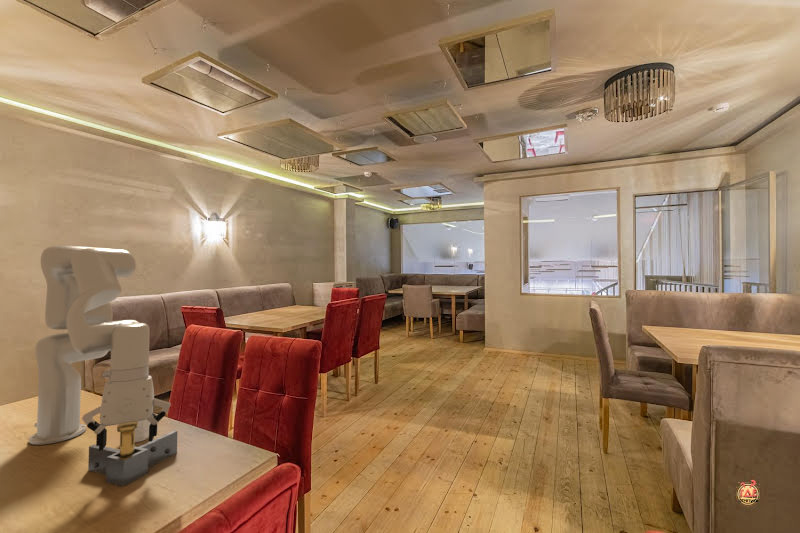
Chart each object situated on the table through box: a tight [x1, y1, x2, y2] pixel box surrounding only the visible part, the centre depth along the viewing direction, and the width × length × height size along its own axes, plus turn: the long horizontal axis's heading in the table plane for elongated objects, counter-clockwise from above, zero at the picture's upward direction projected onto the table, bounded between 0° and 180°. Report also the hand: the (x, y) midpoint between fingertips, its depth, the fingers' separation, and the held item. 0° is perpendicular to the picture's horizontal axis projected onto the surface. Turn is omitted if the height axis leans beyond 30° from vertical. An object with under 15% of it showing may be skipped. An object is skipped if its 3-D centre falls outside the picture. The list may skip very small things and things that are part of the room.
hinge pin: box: [116, 422, 138, 458], centre depth 85 cm, size 4×4×13 cm
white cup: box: [134, 419, 151, 444], centre depth 106 cm, size 8×8×10 cm
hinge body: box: [87, 430, 178, 487], centre depth 91 cm, size 16×16×6 cm
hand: (127, 443), depth 85 cm, fingers open, 9 cm apart
